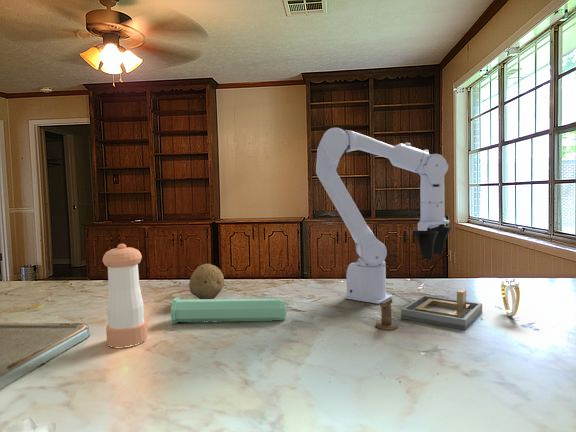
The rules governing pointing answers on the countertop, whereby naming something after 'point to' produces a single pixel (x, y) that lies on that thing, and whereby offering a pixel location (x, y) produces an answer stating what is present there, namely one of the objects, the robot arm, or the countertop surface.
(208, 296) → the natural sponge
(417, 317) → the tray
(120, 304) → the salt shaker
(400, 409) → the countertop surface
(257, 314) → the container
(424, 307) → the wooden frame with post
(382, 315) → the brown stamp
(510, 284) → the ring
